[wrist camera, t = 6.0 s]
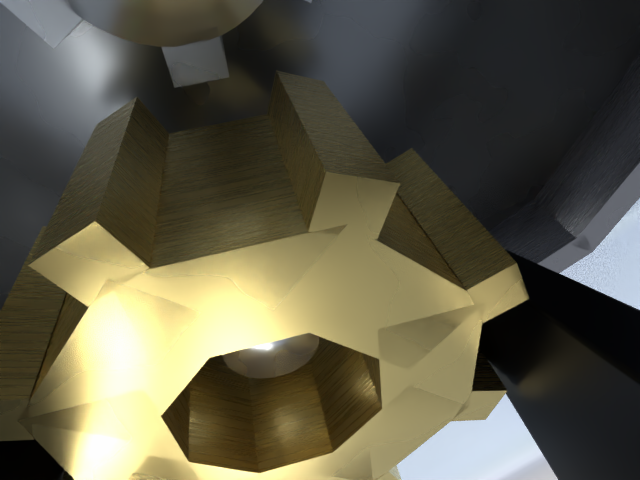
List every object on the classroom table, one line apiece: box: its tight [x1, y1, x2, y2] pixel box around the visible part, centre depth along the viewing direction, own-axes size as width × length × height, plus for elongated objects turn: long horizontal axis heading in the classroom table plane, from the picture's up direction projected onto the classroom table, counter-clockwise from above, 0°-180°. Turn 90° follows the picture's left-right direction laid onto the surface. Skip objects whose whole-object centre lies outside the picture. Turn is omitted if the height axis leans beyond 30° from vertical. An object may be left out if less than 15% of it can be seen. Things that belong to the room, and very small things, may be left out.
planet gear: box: [0, 71, 529, 480], centre depth 8 cm, size 7×7×4 cm
